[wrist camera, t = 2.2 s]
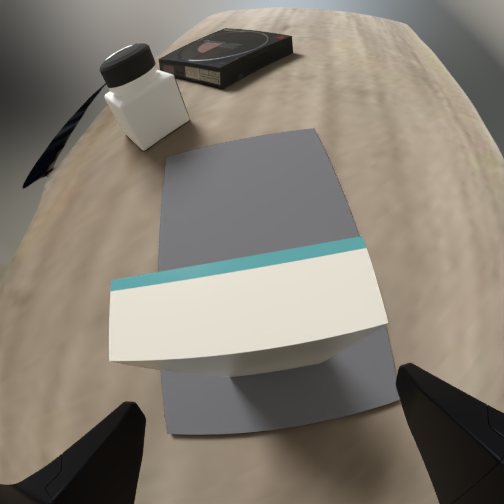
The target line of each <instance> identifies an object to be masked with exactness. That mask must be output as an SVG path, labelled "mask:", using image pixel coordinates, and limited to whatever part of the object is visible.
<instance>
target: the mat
mask: <svg viewBox="0 0 504 504" xmlns="http://www.w3.org/2000/svg"><path fill="white" fill-rule="evenodd" d="M355 237H359V234H358V231H357V228H356V226H355V223H354V220H353V217H352V215H351V212H350V209H349V207H348V204H347V202H346V199H345V196H344V194H343V191H342V189H341V186H340V184H339V182H338V179H337V177H336V175H335V172H334V170H333V168H332V165H331V163H330V161H329V158H328V156H327V154H326V152H325V150H324V147H323V145H322V143H321V141H320V139H319V137H318V135H317V133H316V131H315V129H314V128H313V129H304V130H296V131H288V132H281V133H275V134H268V135H262V136H256V137H250V138H245V139H240V140H235V141H230V142H225V143H220V144H216V145H211V146H207V147H202V148H198V149H194V150H190V151H186V152H182V153H178V154H175V155H171V156H167V157H166V164H165V173H164V182H163V192H162V204H161V217H160V233H159V255H158V272H161V271H167V270H173V269H179V268H185V267H190V266H196V265H202V264H208V263H213V262H219V261H225V260H231V259H236V258H242V257H248V256H253V255H259V254H265V253H270V252H276V251H282V250H287V249H293V248H299V247H304V246H310V245H315V244H321V243H327V242H332V241H338V240H343V239H349V238H355ZM161 382H162V393H163V403H164V412H165V420H166V428H167V434H190V435H206V434H233V433H247V432H258V431H268V430H276V429H283V428H290V427H296V426H302V425H308V424H313V423H318V422H323V421H327V420H332V419H336V418H340V417H344V416H348V415H352V414H356V413H360V412H363V411H367V410H370V409H373V408H377V407H380V406H383V405H386V404H389V403H392V402H395V401H398V400H400V398H399V395H398V392H397V389H396V373H395V368H394V363H393V357H392V353H391V348H390V343H389V339H388V334H387V330H386V326H385V325H384V326H383V327H381V328H380V329H378V330H377V331H375V332H373V333H372V334H370V335H369V336H367V337H365V338H364V339H362V340H361V341H359V342H357V343H356V344H354V345H352V346H350V347H349V348H347V349H345V350H344V351H342V352H340V353H338V354H337V355H335V356H333V357H331V358H329V359H327V360H326V361H324V362H322V363H319V364H314V365H309V366H304V367H299V368H293V369H287V370H281V371H275V372H268V373H261V374H254V375H245V376H237V377H219V376H206V375H196V374H187V373H178V372H170V371H163V370H161Z"/></svg>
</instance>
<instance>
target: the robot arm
mask: <svg viewBox="0 0 504 504" xmlns="http://www.w3.org/2000/svg"><path fill="white" fill-rule="evenodd" d="M396 389H397V392H398V395H399V398H400V401H401V404H402V407H403V411H404V414H405V417H406V420H407V423H408V426H409V428H410V430H411V433H412V435H413V437H414V440H415V442H416V444H417V447H418V449H419V451H420V454H421V456H422V459H423V461H424V464H425V466H426V469H427V471H428V474H429V476H430V479H431V481H432V484H433V487H434V489H435V492H436V495H437V498H438V501H439V503H440V504H504V413H503V412H500V411H498V410H496V409H494V408H493V407H491V406H489V405H487V404H485V403H483V402H481V401H479V400H478V399H476V398H474V397H472V396H470V395H468V394H467V393H465V392H463V391H461V390H459V389H457V388H456V387H454V386H452V385H450V384H448V383H447V382H445V381H443V380H441V379H439V378H438V377H436V376H434V375H432V374H430V373H429V372H427V371H425V370H423V369H421V368H420V367H418V366H416V365H414V364H412V363H407V364H404V365H401V366H400V367H399V369H398V374H397V379H396ZM145 426H146V418H145V415H144V414H143V412H142V411H141V409H140V408H139V406H138V405H137V404H136V403H135V402H128V401H126V402H123V403H122V404H121V405H120V406H119V407H118V408H116V409H115V410H114V411H113V412H112V413H110V414H109V415H108V416H107V417H106V418H105V419H103V420H102V421H101V422H100V423H99V424H97V425H96V426H95V427H94V428H93V429H92V430H90V431H89V432H88V433H87V434H86V435H84V436H83V437H82V438H81V439H79V440H78V441H77V442H76V443H75V444H73V445H72V446H71V447H70V448H68V449H67V450H66V451H65V452H64V453H63V454H61V455H60V456H59V457H57V458H56V459H55V460H53V461H52V462H51V463H49V464H48V465H47V466H45V467H44V468H42V469H41V470H39V471H38V472H36V473H34V474H33V475H31V476H29V477H28V478H26V479H24V480H23V481H21V482H19V483H16V484H12V485H3V484H0V504H134V501H135V495H136V489H137V483H138V478H139V472H140V467H141V462H142V456H143V448H144V436H145Z"/></svg>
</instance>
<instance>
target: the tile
mask: <svg viewBox="0 0 504 504" xmlns="http://www.w3.org/2000/svg"><path fill="white" fill-rule="evenodd" d="M387 323H388V320H387V316H386V312H385V309H384V305H383V301H382V297H381V294H380V290H379V287H378V283H377V280H376V277H375V273H374V270H373V267H372V264H371V261H370V257H369V254H368V251H367V248H366V245H365V243H364V240H363V237H362V236H360V237H355V238H349V239H343V240H338V241H332V242H327V243H321V244H315V245H310V246H304V247H299V248H293V249H287V250H282V251H276V252H270V253H265V254H259V255H253V256H248V257H242V258H236V259H231V260H225V261H219V262H213V263H208V264H202V265H196V266H190V267H185V268H179V269H173V270H167V271H161V272H156V273H150V274H144V275H138V276H132V277H126V278H121V279H115V280H112V282H111V296H110V317H109V361H112V362H117V363H122V364H127V365H132V366H138V367H144V368H150V369H156V370H163V371H170V372H178V373H187V374H196V375H206V376H219V377H237V376H245V375H254V374H261V373H268V372H275V371H281V370H287V369H293V368H299V367H304V366H309V365H314V364H319V363H322V362H324V361H326V360H327V359H329V358H331V357H333V356H335V355H337V354H338V353H340V352H342V351H344V350H345V349H347V348H349V347H350V346H352V345H354V344H356V343H357V342H359V341H361V340H362V339H364V338H365V337H367V336H369V335H370V334H372V333H373V332H375V331H377V330H378V329H380V328H381V327H383V326H384V325H386V324H387Z"/></svg>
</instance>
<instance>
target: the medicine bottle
mask: <svg viewBox="0 0 504 504" xmlns="http://www.w3.org/2000/svg"><path fill="white" fill-rule="evenodd" d="M100 72H101V74H102V76H103V78H104V80H105V82H106V84H107V86H108V88H109V90H110V92H108V93H107V94H106V95H105V99H106V101H107V103H108V105H109V107H110V109H111V110H112V112H113V114H114V116H115V117H116V119H117V121H118V123H119V125H120V126H121V128H122V130H123V132H124V133H125V134H126V135H127V136H128V137H129V138H130V139H131V140H132V141H133V142H134V143H135V144H136V145H137V146H138V147H140V148H141V149H142V150H143V151H145V150H146V149H148V148H149V147H151V146H152V145H153V144H155V143H156V142H158V141H159V140H160V139H162V138H163V137H165V136H166V135H168V134H169V133H171V132H172V131H174V130H175V129H177V128H178V127H180V126H181V125H183V124H185V123H186V122H188V121H189V119H190V118H189V115H188V112H187V110H186V107H185V104H184V101H183V99H182V96H181V93H180V90H179V88H178V85H177V82H176V79H175V76H174V75H172V74H169V73H166V72H163V71H160V70H157V66H156V63H155V60H154V58H153V55H152V53H151V50H150V48H149V46H148V45H147V44H134V45H131V46H128V47H126V48H123V49H121V50H119V51H117V52H116V53H114V54H112V55H111V56H109V57H108V58H107V59H106V60H105V61H104V62H103V64H102V65H101V67H100Z"/></svg>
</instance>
